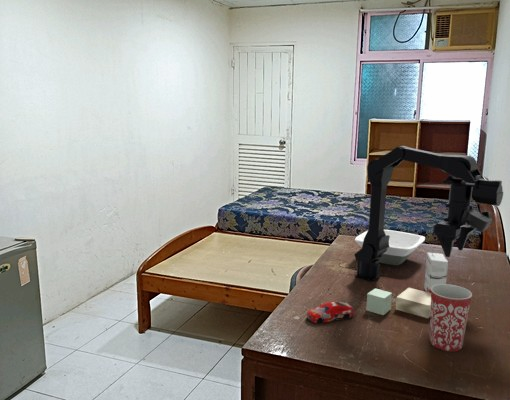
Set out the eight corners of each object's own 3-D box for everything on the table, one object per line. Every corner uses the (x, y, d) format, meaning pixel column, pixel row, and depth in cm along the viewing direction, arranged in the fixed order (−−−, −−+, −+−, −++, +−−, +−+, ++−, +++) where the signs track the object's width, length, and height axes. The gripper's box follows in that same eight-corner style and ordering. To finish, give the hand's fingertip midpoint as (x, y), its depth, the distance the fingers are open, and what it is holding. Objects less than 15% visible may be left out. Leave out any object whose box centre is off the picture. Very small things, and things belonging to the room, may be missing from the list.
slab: (395, 310, 129) (396, 296, 128) (407, 300, 136) (408, 287, 135) (428, 319, 123) (429, 305, 123) (438, 308, 130) (440, 295, 130)
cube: (366, 310, 128) (367, 293, 127) (374, 304, 132) (375, 288, 131) (383, 315, 125) (384, 298, 124) (390, 309, 129) (391, 292, 128)
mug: (469, 356, 104) (475, 300, 102) (426, 350, 107) (431, 295, 104) (462, 331, 116) (468, 281, 113) (424, 326, 119) (428, 276, 116)
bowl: (348, 262, 169) (349, 239, 167) (371, 247, 187) (372, 227, 186) (409, 274, 156) (411, 250, 155) (427, 257, 175) (429, 236, 173)
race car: (312, 326, 119) (312, 312, 118) (303, 317, 124) (303, 303, 123) (356, 319, 123) (357, 305, 122) (346, 311, 128) (347, 297, 127)
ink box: (445, 299, 136) (449, 261, 133) (428, 298, 136) (431, 260, 134) (440, 289, 144) (443, 252, 142) (423, 287, 145) (426, 251, 143)
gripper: (477, 210, 118) (470, 268, 121) (501, 200, 131) (494, 252, 134) (434, 203, 125) (429, 258, 129) (461, 194, 139) (456, 244, 142)
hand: (454, 253), depth 133 cm, fingers open, 9 cm apart
